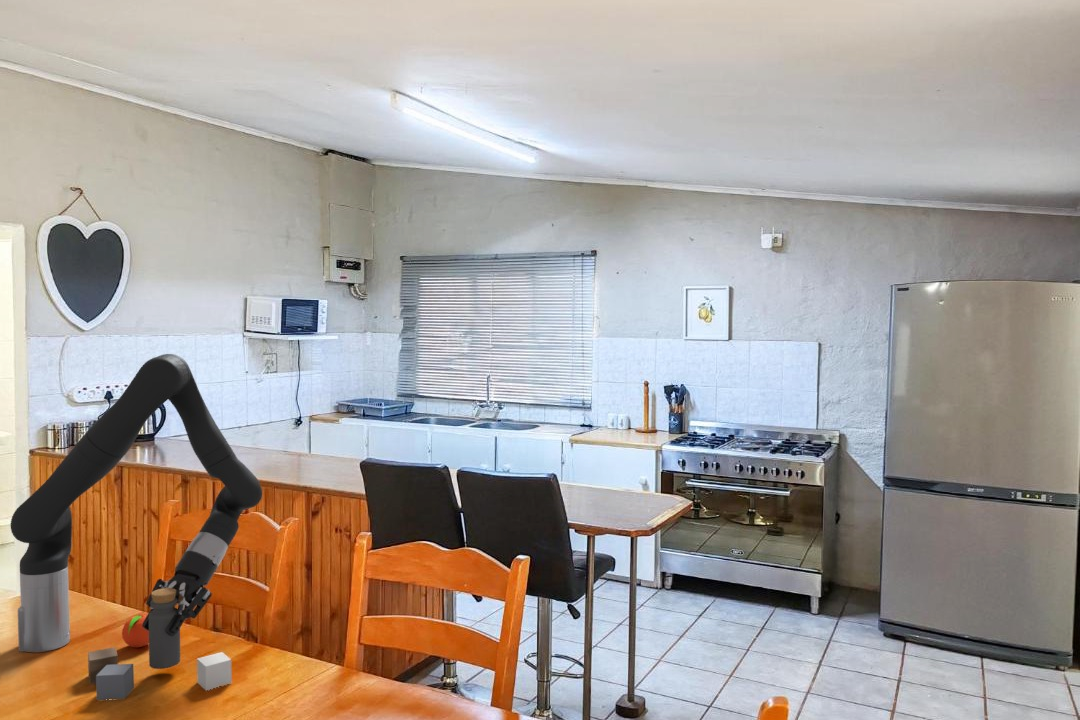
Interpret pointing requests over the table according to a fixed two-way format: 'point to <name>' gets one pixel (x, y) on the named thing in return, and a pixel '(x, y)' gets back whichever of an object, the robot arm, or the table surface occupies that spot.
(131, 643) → the peach
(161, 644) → the bottle
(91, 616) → the table surface
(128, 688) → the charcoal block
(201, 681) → the offwhite block
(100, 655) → the walnut block
